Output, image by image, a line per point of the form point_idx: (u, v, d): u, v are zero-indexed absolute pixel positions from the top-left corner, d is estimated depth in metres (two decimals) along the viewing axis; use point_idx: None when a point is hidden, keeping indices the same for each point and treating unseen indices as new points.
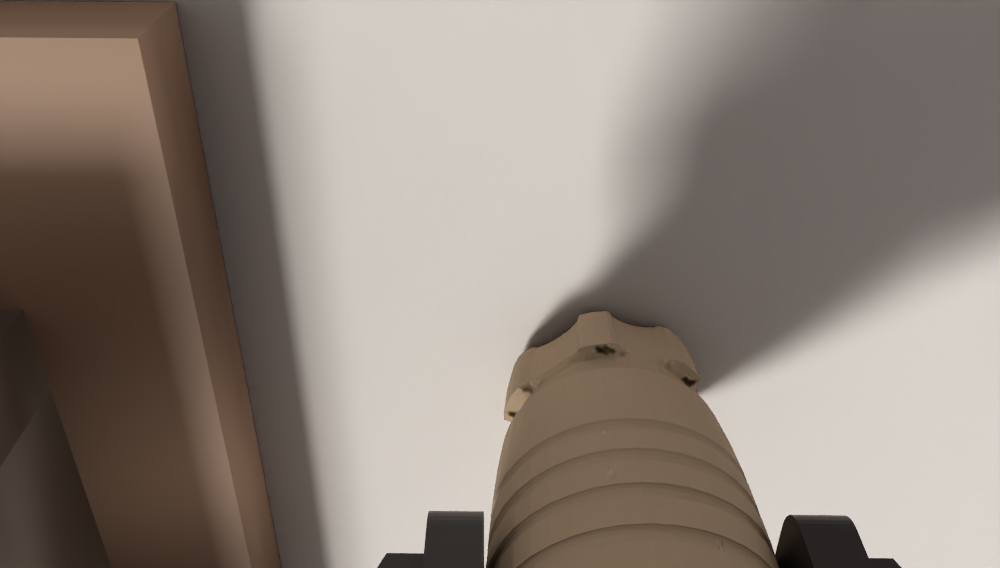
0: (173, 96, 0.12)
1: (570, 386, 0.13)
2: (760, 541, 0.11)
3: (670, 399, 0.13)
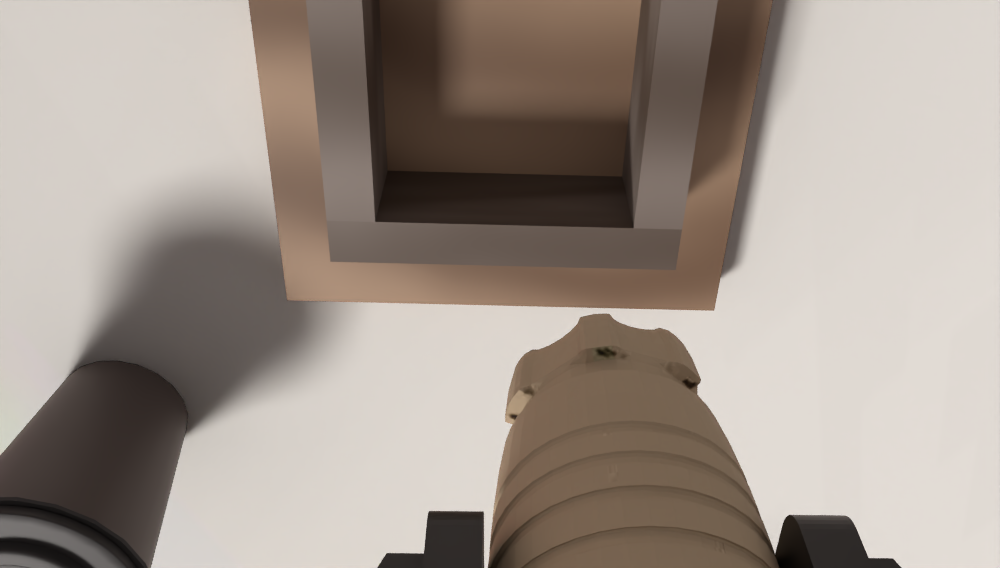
0: None
1: (571, 389, 0.13)
2: (761, 543, 0.11)
3: (671, 402, 0.13)
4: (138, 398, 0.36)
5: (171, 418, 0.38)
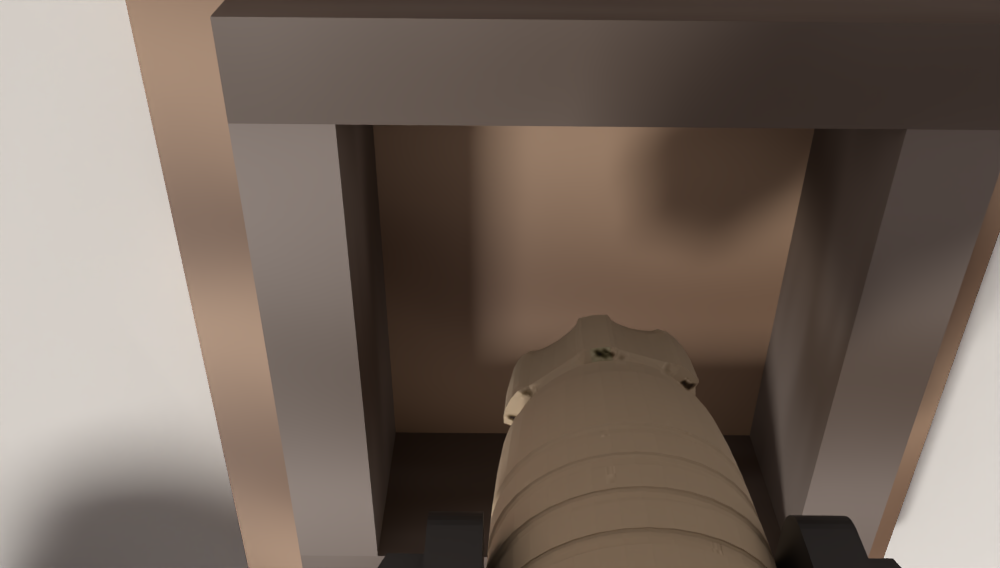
0: None
1: (569, 390, 0.13)
2: (759, 544, 0.11)
3: (670, 404, 0.13)
4: None
5: None
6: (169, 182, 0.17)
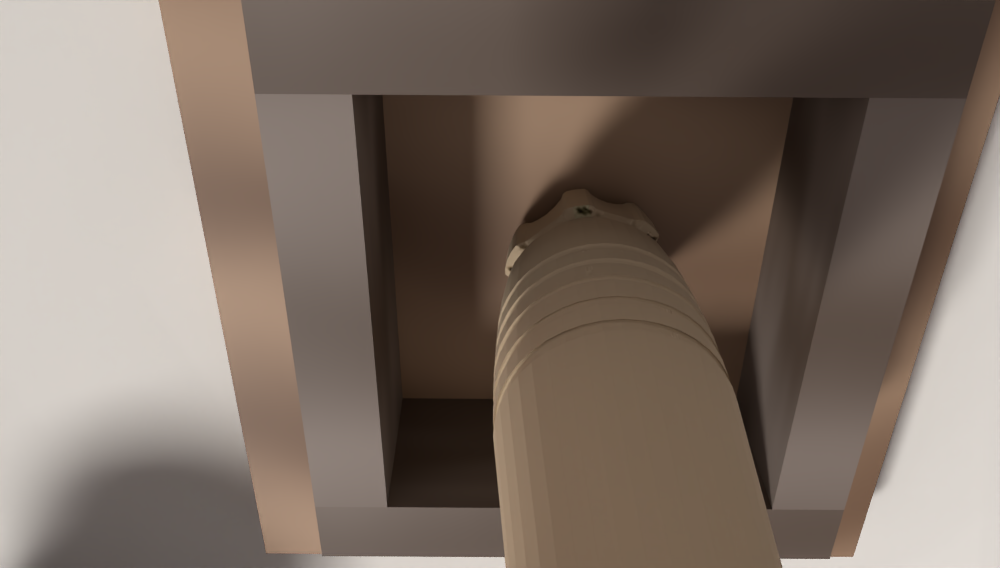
0: None
1: (557, 232, 0.17)
2: (700, 319, 0.15)
3: (635, 237, 0.17)
4: None
5: None
6: (193, 158, 0.19)
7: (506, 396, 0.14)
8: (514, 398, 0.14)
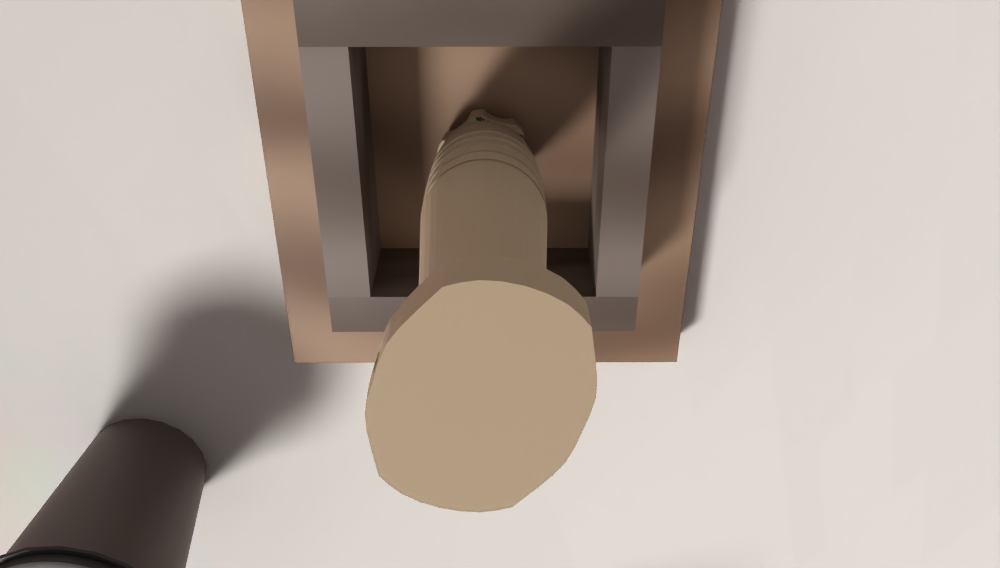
0: None
1: (462, 128, 0.31)
2: (530, 165, 0.28)
3: (503, 129, 0.30)
4: (162, 453, 0.40)
5: (192, 470, 0.41)
6: (257, 93, 0.32)
7: (425, 199, 0.27)
8: (428, 198, 0.27)
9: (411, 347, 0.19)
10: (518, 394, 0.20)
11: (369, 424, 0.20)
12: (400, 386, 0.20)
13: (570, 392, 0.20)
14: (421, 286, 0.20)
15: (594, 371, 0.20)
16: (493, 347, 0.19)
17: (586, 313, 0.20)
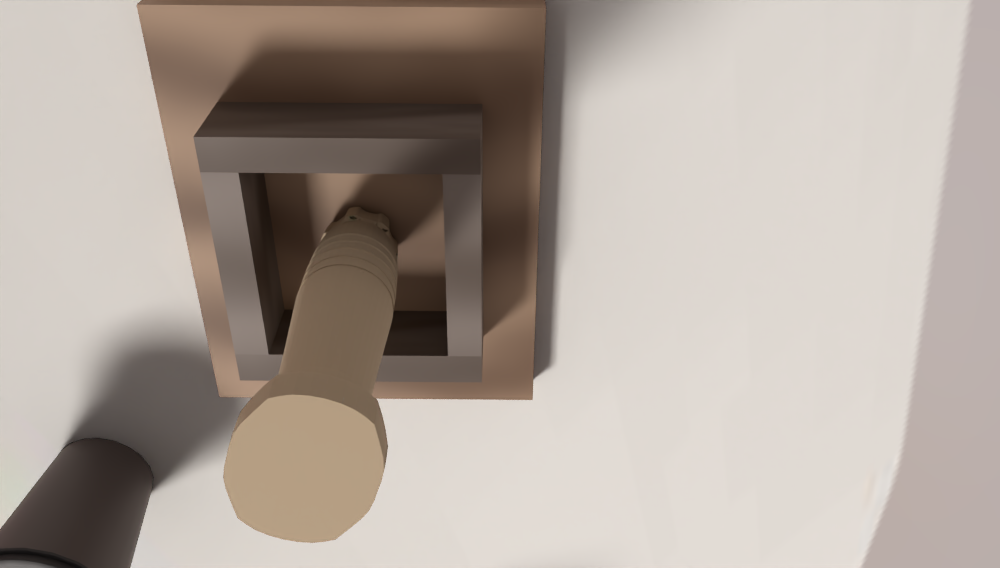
0: None
1: (337, 227, 0.39)
2: (382, 265, 0.37)
3: (368, 230, 0.38)
4: (113, 467, 0.49)
5: (139, 481, 0.50)
6: (178, 192, 0.40)
7: None
8: (299, 294, 0.35)
9: (250, 435, 0.28)
10: (329, 466, 0.29)
11: (227, 484, 0.29)
12: (246, 460, 0.29)
13: (366, 465, 0.29)
14: (260, 391, 0.28)
15: (380, 452, 0.28)
16: (308, 436, 0.28)
17: (373, 413, 0.28)
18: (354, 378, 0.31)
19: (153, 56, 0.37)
